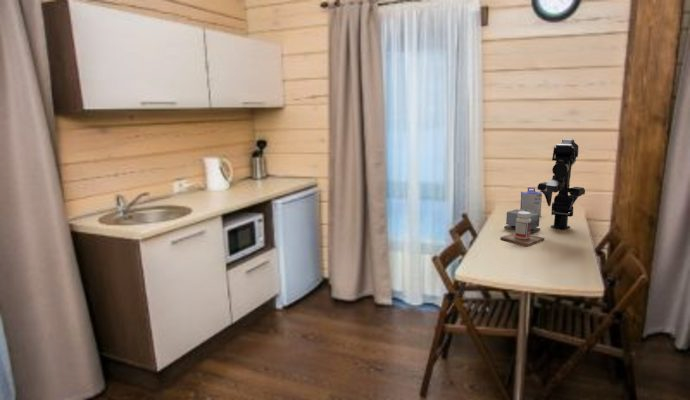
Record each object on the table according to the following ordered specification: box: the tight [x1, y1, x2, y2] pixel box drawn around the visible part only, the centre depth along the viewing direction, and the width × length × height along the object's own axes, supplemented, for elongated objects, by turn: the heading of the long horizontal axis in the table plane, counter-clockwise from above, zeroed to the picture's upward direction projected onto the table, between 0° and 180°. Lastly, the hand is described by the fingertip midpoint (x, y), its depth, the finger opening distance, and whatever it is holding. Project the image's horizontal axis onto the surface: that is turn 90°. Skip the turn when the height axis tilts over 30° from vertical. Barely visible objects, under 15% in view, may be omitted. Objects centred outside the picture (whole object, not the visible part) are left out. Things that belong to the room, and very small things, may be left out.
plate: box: [500, 232, 545, 247], centre depth 202 cm, size 13×13×1 cm
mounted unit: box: [503, 209, 541, 235], centre depth 216 cm, size 9×13×8 cm
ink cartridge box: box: [519, 187, 543, 217], centre depth 240 cm, size 10×6×14 cm, turn 78°
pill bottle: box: [514, 211, 531, 239], centre depth 200 cm, size 6×6×11 cm
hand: (559, 207), depth 202 cm, fingers open, 9 cm apart
